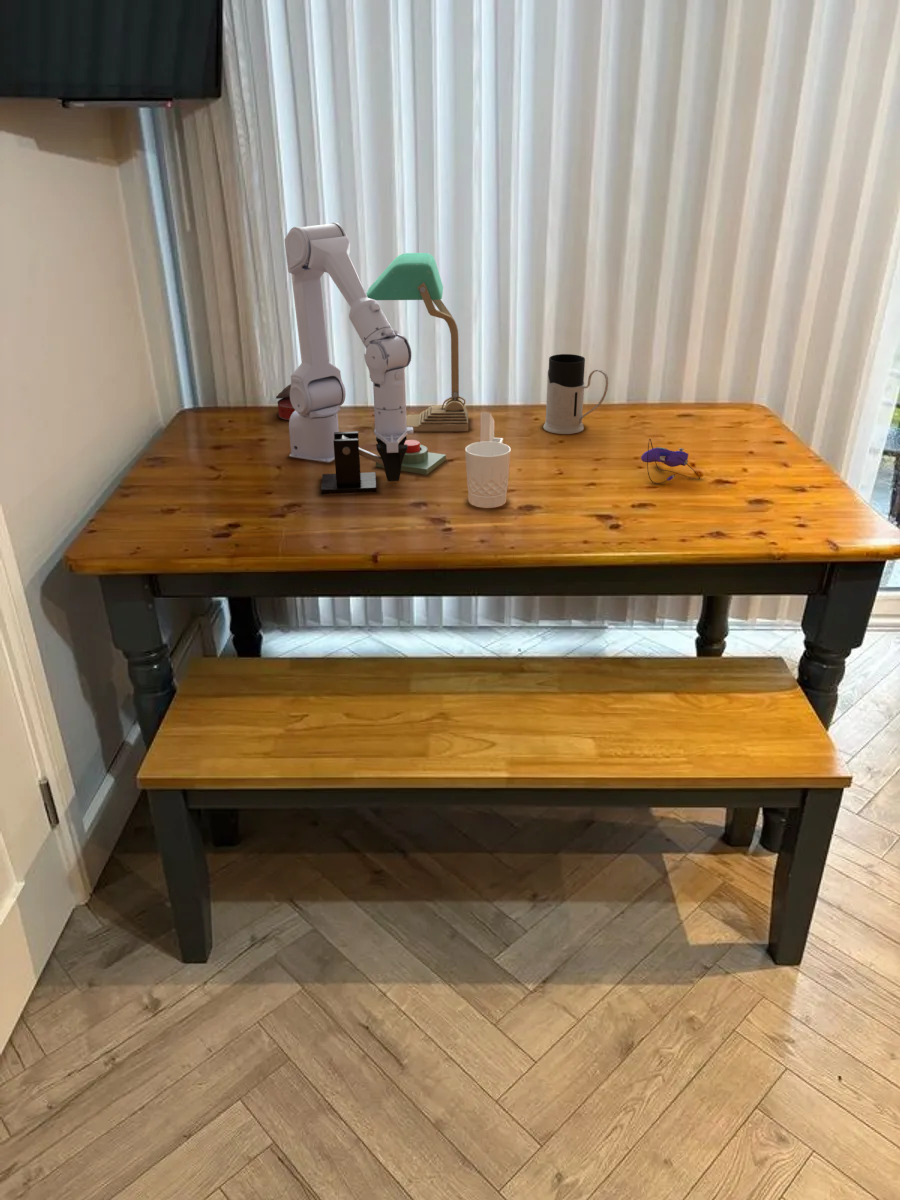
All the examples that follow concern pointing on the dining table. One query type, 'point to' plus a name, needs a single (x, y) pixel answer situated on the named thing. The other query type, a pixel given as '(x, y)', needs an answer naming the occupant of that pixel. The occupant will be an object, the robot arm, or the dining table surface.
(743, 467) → the dining table surface
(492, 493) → the white cup
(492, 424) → the white wedge bracket
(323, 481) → the switch bracket
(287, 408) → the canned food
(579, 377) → the glass holder
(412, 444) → the button
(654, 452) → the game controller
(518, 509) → the dining table surface
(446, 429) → the banker's lamp
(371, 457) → the lever
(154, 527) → the dining table surface
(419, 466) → the switch box
